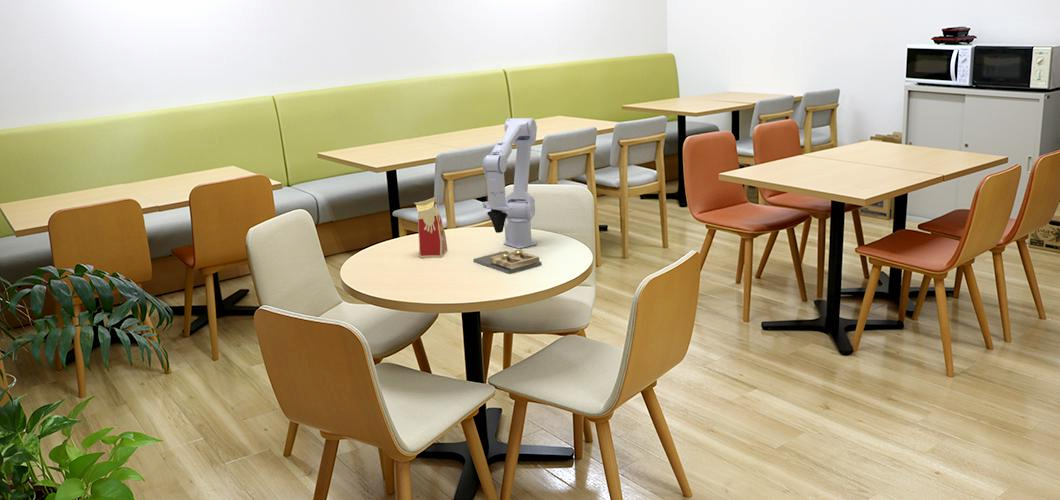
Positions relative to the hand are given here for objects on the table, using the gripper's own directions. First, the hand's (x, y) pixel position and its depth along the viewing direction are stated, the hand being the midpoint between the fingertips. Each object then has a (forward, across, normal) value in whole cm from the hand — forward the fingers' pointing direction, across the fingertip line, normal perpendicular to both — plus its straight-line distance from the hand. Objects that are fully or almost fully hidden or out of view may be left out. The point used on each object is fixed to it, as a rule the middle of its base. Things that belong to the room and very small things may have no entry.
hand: (499, 232), depth 296 cm
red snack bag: (+10, -23, -13) cm, 28 cm away
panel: (+8, +10, -1) cm, 13 cm away
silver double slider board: (+9, +6, -2) cm, 11 cm away
